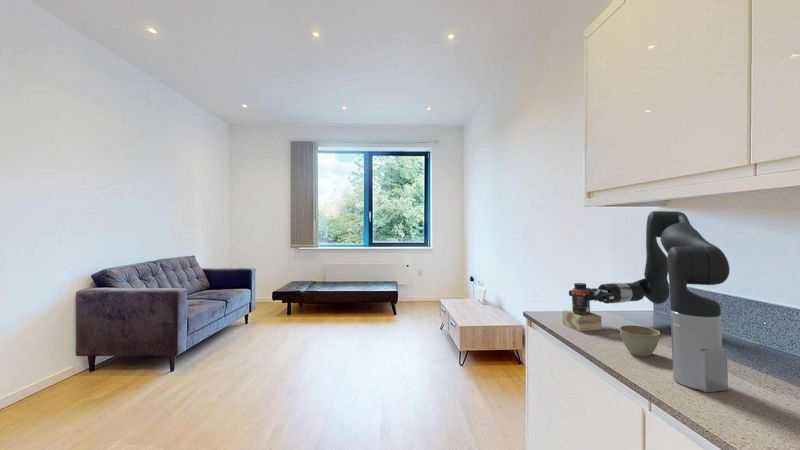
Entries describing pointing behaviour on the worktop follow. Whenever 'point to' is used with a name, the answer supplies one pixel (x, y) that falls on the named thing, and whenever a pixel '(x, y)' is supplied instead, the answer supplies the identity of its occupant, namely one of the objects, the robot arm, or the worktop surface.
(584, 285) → the supplement bottle
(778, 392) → the worktop surface
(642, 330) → the beige round bowl
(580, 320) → the step
